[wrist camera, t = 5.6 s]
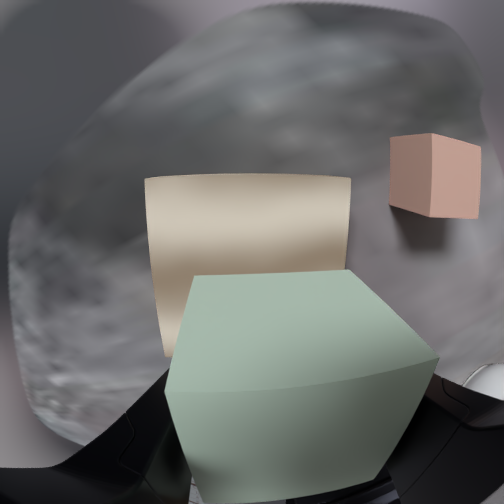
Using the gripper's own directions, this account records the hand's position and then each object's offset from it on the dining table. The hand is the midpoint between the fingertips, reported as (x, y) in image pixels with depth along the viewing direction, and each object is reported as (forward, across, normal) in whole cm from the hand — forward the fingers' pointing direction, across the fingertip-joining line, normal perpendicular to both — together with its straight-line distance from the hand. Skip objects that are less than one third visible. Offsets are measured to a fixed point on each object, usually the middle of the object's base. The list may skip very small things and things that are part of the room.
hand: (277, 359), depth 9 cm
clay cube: (+11, -13, -6) cm, 18 cm away
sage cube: (+1, 0, 0) cm, 1 cm away
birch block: (+11, 0, 0) cm, 11 cm away
